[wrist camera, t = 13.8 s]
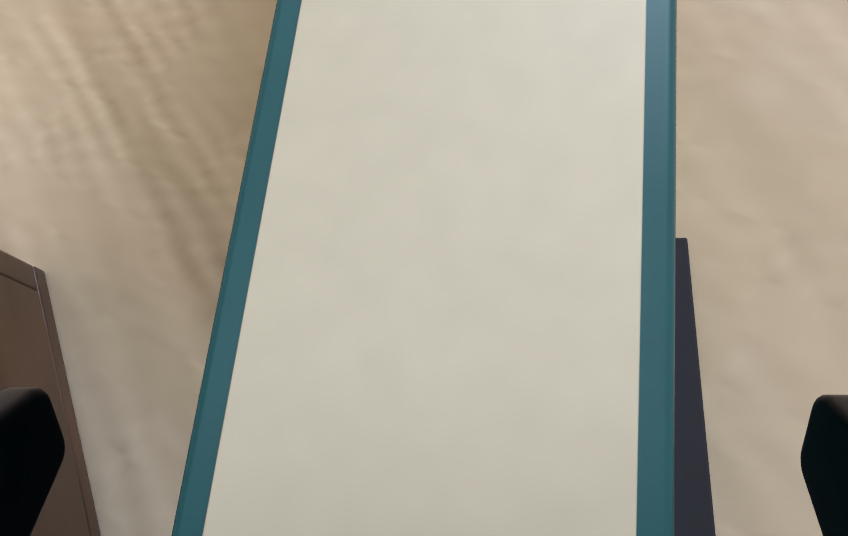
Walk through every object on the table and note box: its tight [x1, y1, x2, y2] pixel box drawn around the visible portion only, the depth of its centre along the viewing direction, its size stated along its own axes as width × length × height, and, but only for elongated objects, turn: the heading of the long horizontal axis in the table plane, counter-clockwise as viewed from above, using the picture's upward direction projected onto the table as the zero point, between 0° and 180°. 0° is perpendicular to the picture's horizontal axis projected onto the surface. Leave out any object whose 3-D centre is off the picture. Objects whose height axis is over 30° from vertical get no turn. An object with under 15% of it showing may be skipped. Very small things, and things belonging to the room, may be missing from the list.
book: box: [172, 0, 676, 536], centre depth 11 cm, size 7×3×13 cm, turn 174°
